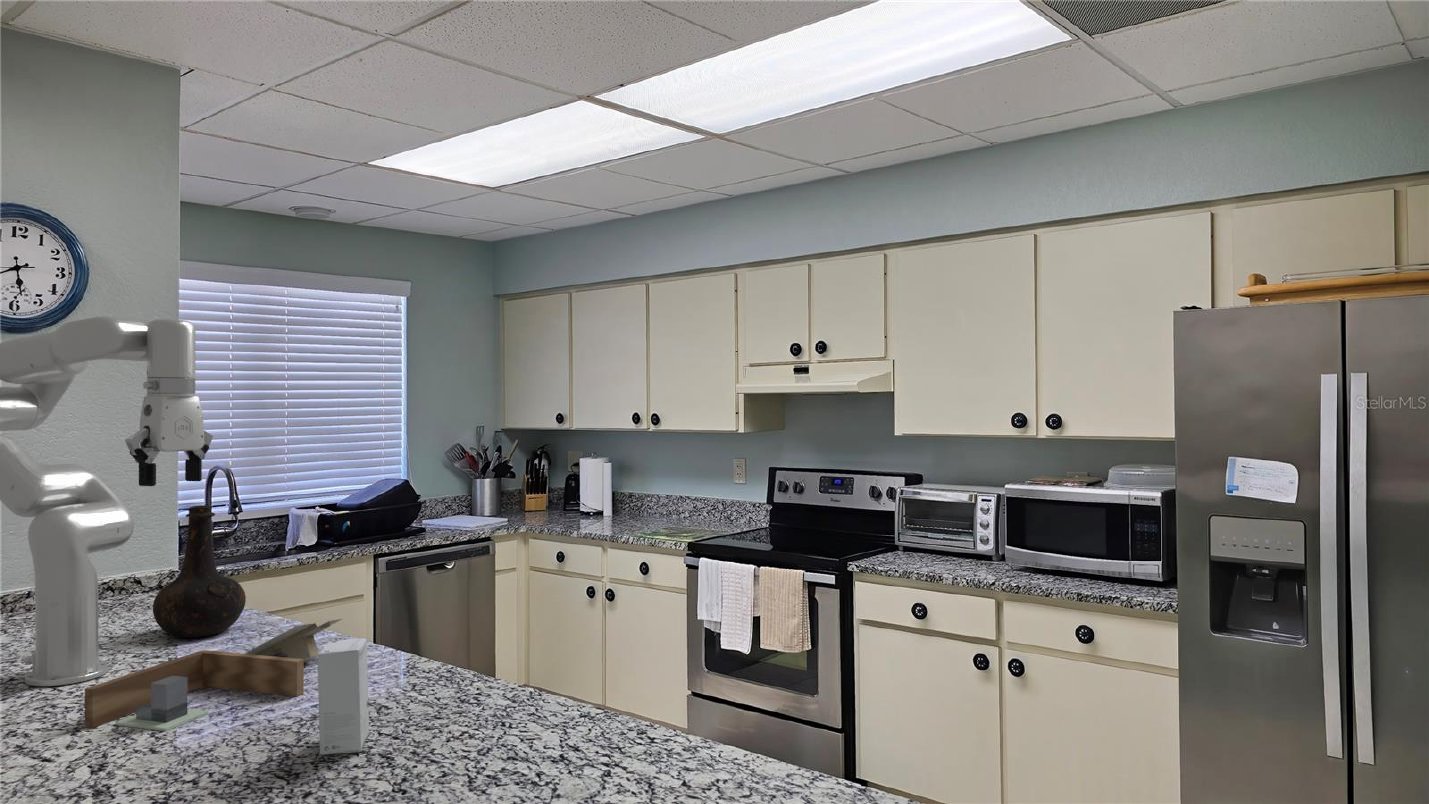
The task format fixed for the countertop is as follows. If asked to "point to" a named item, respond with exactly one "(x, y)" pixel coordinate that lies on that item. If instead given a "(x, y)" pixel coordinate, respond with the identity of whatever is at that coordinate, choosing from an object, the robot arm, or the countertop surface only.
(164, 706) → the metal block
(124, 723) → the pad
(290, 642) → the grey angled piece
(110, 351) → the robot arm
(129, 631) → the countertop surface
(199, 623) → the glass bottle
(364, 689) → the skincare box
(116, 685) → the wall
